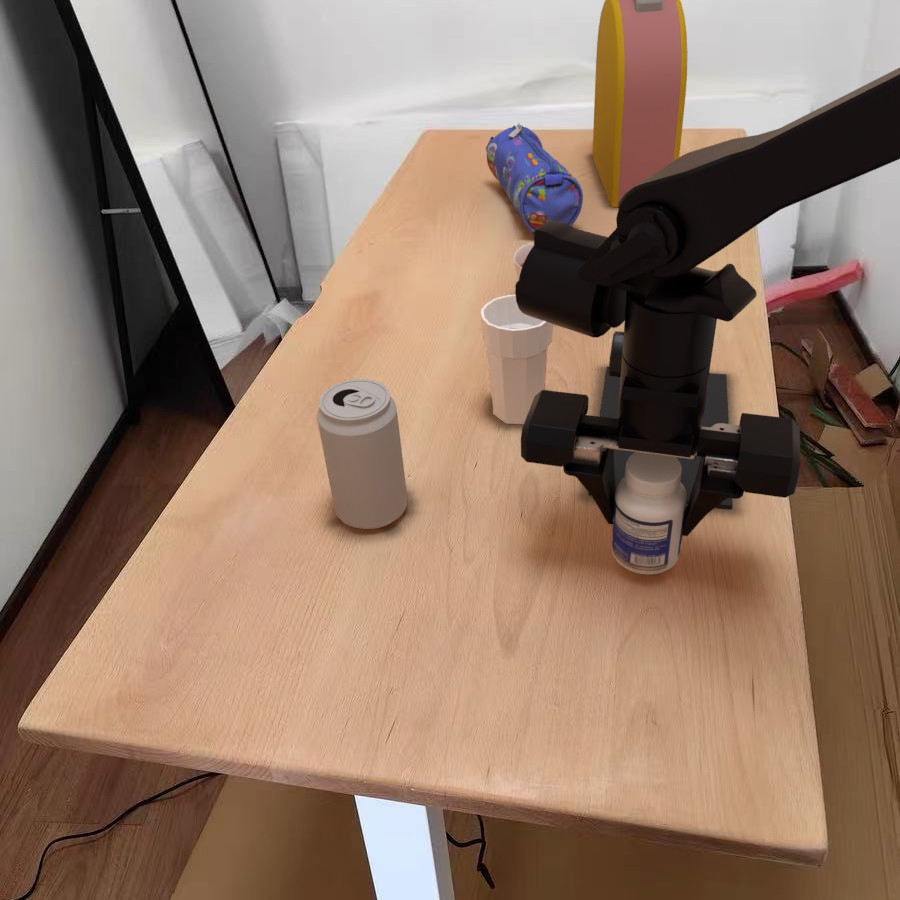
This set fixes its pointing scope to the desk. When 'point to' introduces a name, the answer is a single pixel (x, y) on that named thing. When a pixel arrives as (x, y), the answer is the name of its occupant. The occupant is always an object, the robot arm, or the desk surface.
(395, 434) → the beverage can
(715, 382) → the mat
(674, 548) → the pill bottle
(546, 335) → the cup
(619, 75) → the lunch box
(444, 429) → the desk surface
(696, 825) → the desk surface
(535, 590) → the desk surface
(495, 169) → the pencil case
